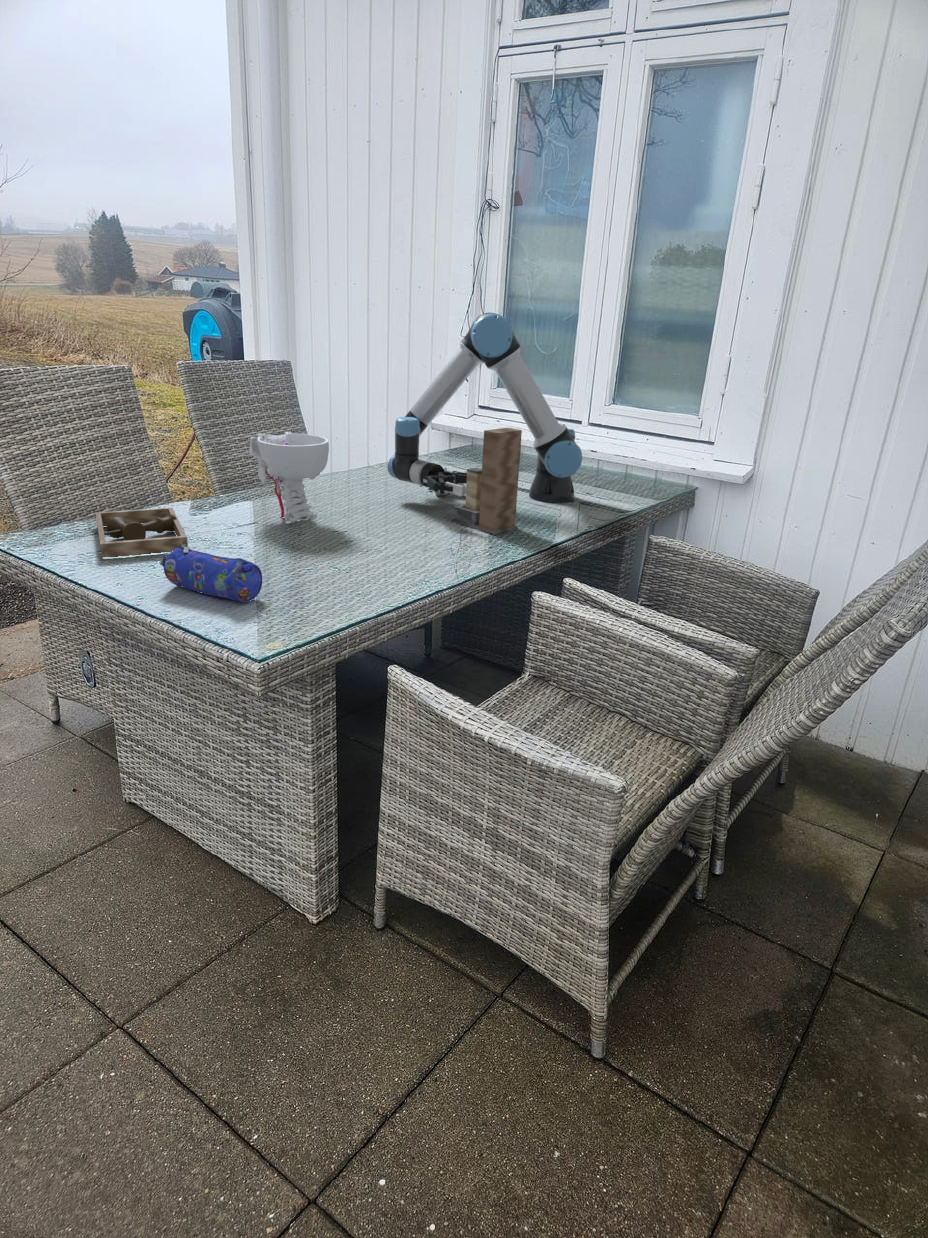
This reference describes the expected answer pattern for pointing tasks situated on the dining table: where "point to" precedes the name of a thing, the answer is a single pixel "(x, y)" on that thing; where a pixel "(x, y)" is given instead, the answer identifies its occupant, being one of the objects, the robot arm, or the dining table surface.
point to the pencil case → (213, 574)
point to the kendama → (138, 527)
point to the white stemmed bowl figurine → (290, 467)
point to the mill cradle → (143, 544)
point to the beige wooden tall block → (473, 489)
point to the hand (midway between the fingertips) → (478, 487)
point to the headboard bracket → (496, 484)
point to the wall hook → (453, 481)
